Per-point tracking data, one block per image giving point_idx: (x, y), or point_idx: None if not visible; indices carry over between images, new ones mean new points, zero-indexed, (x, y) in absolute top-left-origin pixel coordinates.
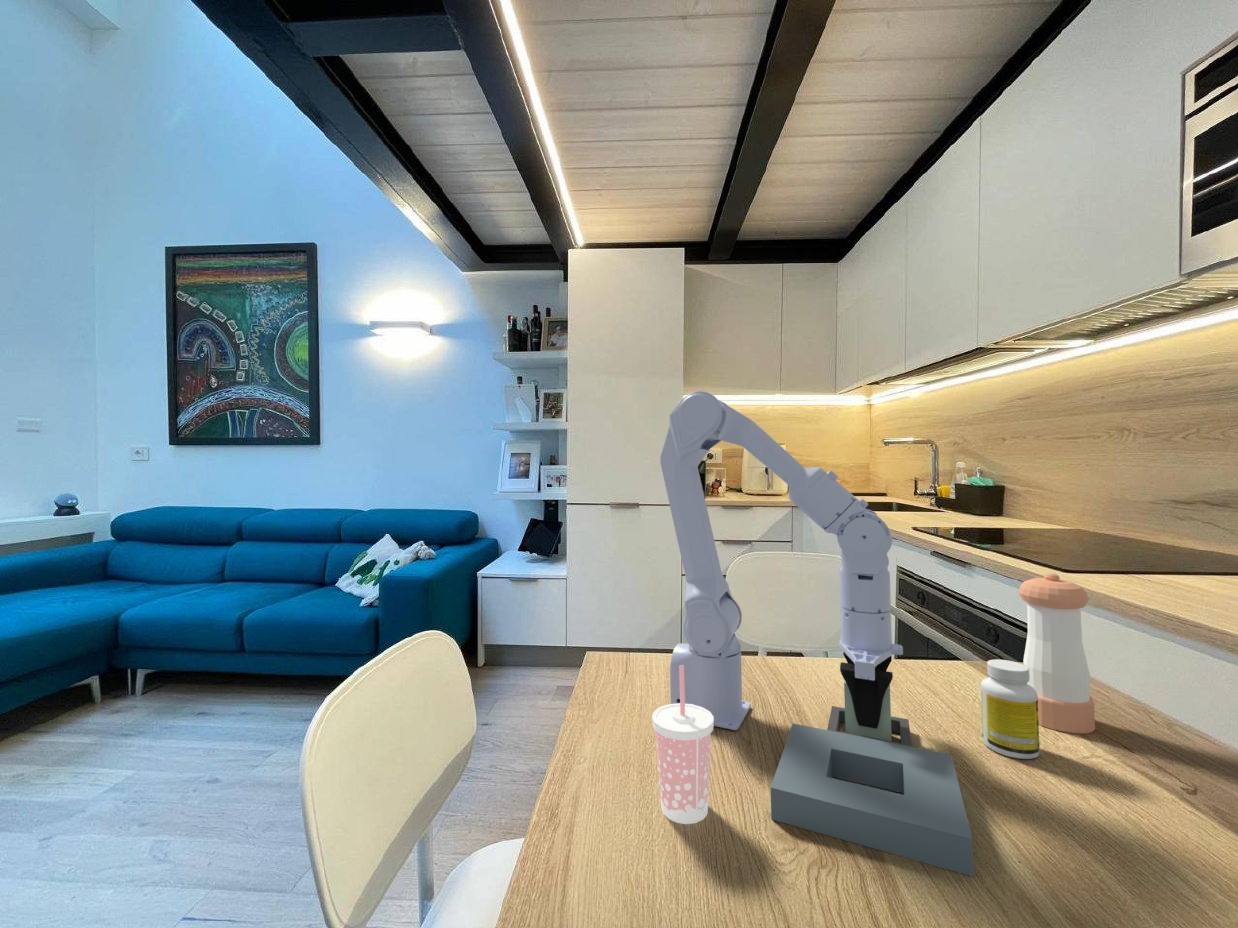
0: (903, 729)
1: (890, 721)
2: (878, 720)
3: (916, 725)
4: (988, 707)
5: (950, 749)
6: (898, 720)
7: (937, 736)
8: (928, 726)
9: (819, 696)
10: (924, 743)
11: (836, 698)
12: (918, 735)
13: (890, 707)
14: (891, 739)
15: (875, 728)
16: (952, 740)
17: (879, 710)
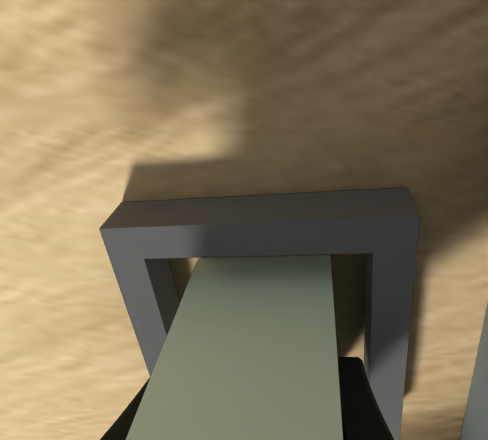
0: (219, 245)
1: (333, 340)
2: (368, 386)
3: (43, 176)
4: None
5: (183, 39)
6: (142, 263)
7: (86, 96)
8: (15, 132)
9: (60, 427)
10: (193, 146)
11: (36, 393)
12: (132, 168)
13: (339, 403)
14: (331, 280)
15: (360, 361)
16: (80, 30)
17: (392, 436)
